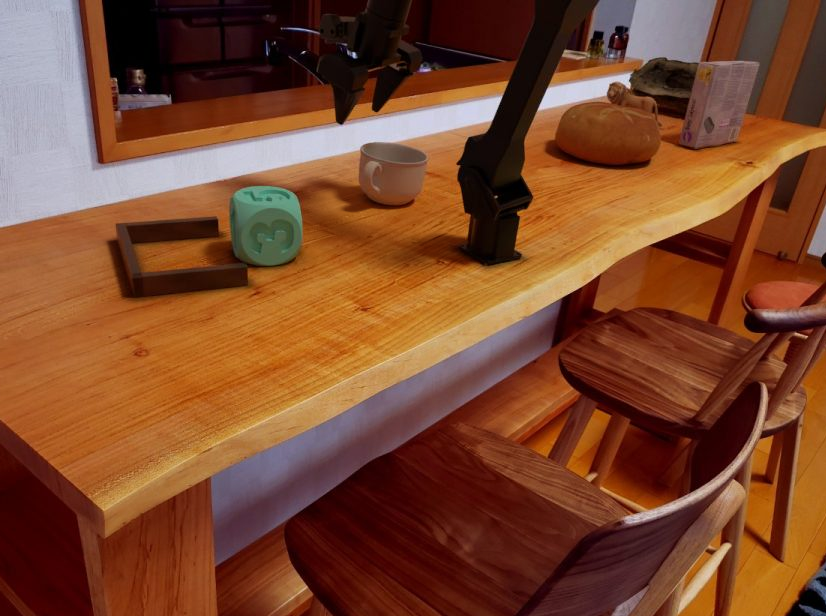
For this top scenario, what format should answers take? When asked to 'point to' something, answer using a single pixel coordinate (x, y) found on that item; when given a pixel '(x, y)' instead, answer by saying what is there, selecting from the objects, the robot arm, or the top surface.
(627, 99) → the lion figurine
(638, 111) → the bread
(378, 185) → the teacup
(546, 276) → the top surface
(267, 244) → the decorative dice
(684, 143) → the cake pan box
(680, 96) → the hollow geode rock
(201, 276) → the walnut frame
